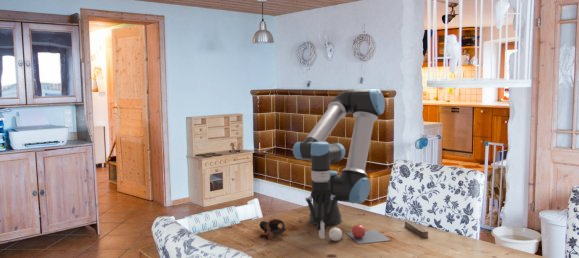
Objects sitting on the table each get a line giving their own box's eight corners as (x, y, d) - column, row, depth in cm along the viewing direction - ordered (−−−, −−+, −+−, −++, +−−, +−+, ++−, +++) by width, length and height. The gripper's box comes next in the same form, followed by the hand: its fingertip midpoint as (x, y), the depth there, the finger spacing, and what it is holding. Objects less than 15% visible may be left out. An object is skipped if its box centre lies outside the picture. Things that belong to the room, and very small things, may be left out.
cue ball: (340, 223, 195) (345, 235, 196) (328, 226, 198) (333, 237, 199) (337, 230, 191) (342, 242, 192) (325, 232, 193) (329, 244, 194)
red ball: (353, 221, 197) (365, 222, 199) (348, 230, 200) (360, 231, 202) (356, 231, 193) (368, 232, 194) (351, 240, 196) (363, 241, 197)
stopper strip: (422, 238, 196) (422, 232, 195) (404, 226, 211) (404, 221, 211) (428, 237, 196) (428, 231, 196) (409, 226, 212) (409, 220, 211)
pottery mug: (287, 233, 208) (289, 220, 203) (280, 249, 200) (281, 236, 195) (262, 224, 210) (263, 211, 205) (253, 240, 203) (254, 227, 198)
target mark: (358, 244, 190) (358, 243, 190) (346, 233, 204) (346, 233, 204) (390, 240, 193) (390, 240, 193) (376, 230, 207) (376, 229, 207)
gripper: (307, 183, 186) (308, 241, 189) (339, 181, 189) (340, 238, 192) (302, 179, 194) (303, 236, 196) (333, 177, 197) (334, 232, 199)
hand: (321, 237), depth 194 cm, fingers closed
